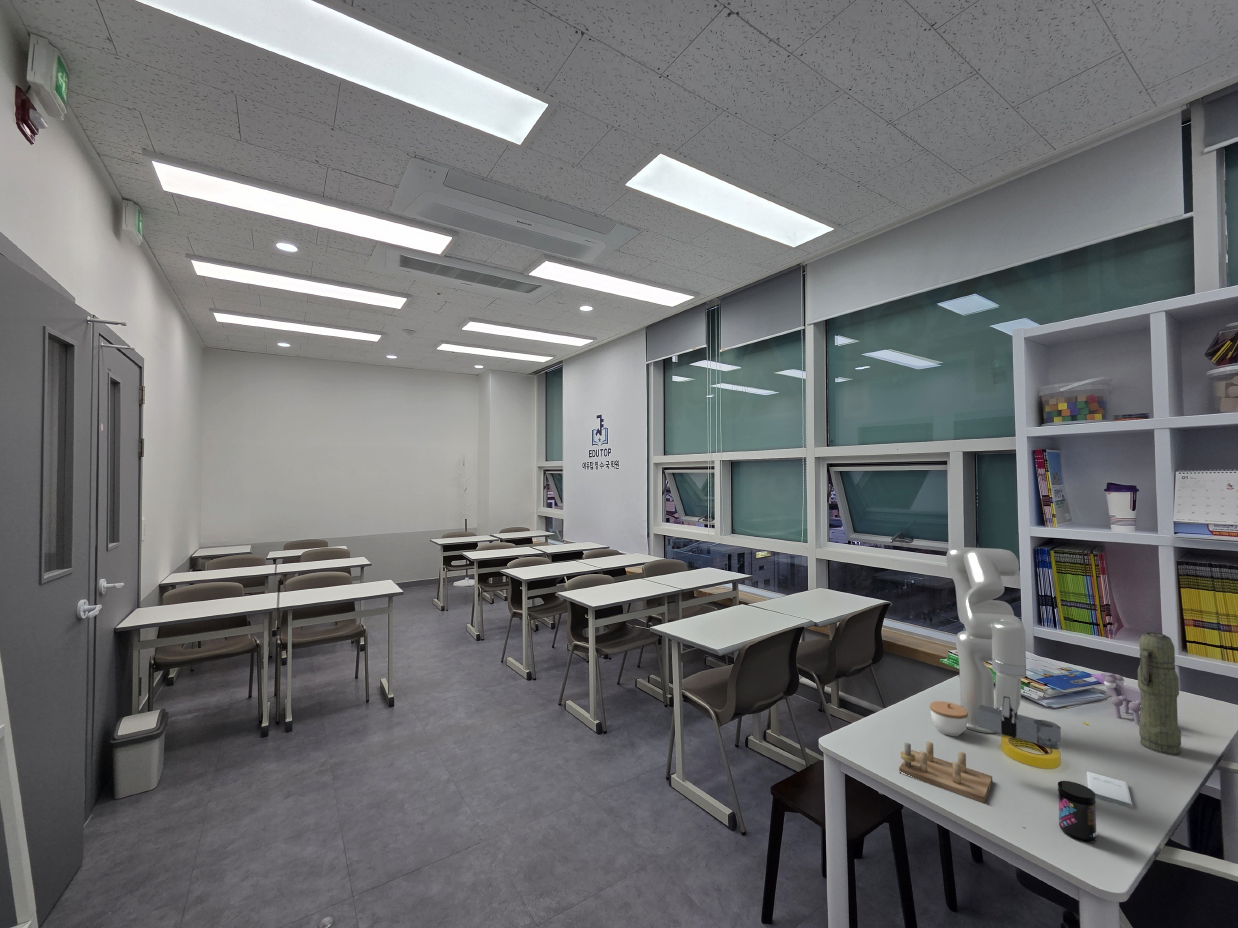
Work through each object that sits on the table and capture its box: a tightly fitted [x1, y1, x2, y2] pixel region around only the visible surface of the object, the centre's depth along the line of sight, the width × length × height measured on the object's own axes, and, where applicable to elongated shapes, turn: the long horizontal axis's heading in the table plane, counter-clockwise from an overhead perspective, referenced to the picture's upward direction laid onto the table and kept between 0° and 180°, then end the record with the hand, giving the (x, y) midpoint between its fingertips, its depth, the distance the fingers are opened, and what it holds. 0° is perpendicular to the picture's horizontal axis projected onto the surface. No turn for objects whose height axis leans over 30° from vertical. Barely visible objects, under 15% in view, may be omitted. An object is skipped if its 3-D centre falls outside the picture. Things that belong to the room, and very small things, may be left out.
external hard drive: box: [1086, 771, 1133, 809], centre depth 137 cm, size 2×8×12 cm
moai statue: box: [1137, 631, 1182, 756], centre depth 159 cm, size 9×12×35 cm
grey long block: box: [978, 705, 1062, 750], centre depth 141 cm, size 6×18×5 cm, turn 46°
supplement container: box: [1057, 780, 1098, 843], centre depth 121 cm, size 7×7×10 cm
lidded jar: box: [929, 700, 968, 737], centre depth 170 cm, size 11×11×9 cm
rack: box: [898, 741, 993, 804], centre depth 144 cm, size 13×20×8 cm, turn 46°
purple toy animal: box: [1090, 671, 1141, 726], centre depth 180 cm, size 20×11×14 cm, turn 22°
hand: (1009, 731), depth 143 cm, fingers closed on grey long block, 4 cm apart
